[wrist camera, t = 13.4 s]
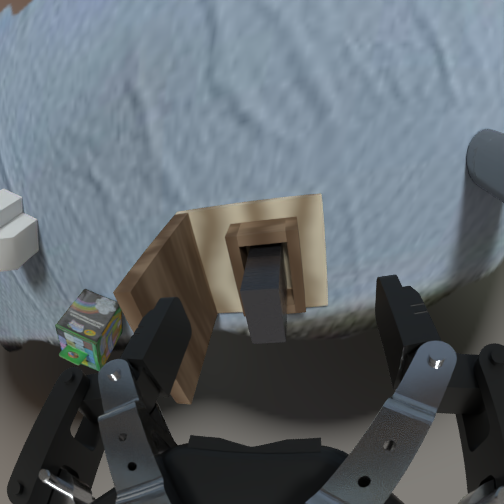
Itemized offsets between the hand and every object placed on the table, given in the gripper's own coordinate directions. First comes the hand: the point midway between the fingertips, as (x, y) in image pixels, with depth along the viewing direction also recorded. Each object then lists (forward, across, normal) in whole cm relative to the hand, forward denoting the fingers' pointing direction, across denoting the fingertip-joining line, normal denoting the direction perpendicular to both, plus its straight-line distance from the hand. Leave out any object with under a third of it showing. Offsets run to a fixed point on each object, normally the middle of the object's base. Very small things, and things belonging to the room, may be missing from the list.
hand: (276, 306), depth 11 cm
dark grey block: (+27, +4, +14) cm, 31 cm away
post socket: (+28, +8, +14) cm, 32 cm away
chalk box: (+28, +40, +22) cm, 53 cm away
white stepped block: (+28, +52, -2) cm, 59 cm away
